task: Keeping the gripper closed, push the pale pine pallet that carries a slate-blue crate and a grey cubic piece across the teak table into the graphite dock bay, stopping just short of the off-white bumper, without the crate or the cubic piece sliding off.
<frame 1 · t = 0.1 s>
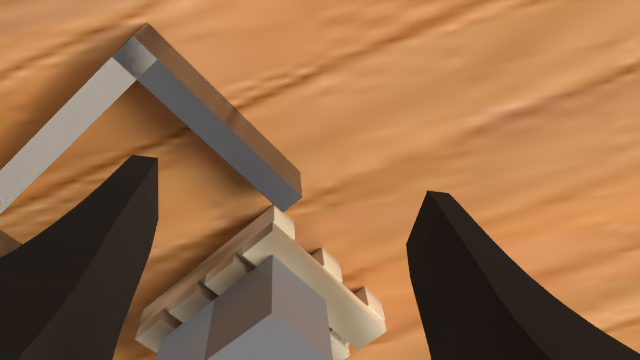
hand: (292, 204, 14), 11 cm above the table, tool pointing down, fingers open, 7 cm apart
blue crate: (215, 340, 27), point 2 cm above the table, touching grey cubic piece, pallet
dock: (126, 196, 25), on the table
pallet: (264, 301, 29), on the table, touching blue crate
grey cubic piece: (270, 299, 26), point 2 cm above the table, touching blue crate
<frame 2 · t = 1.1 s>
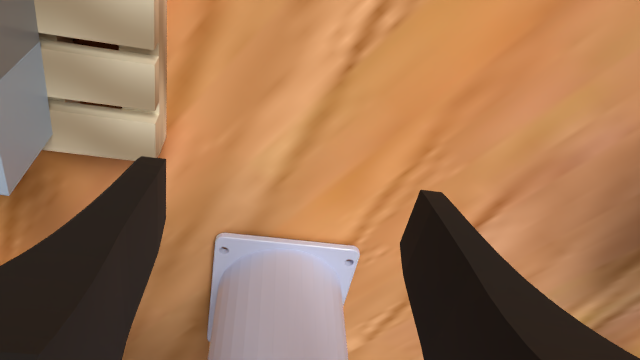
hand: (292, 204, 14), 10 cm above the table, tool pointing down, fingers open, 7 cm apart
pallet: (53, 13, 20), on the table, touching grey cubic piece
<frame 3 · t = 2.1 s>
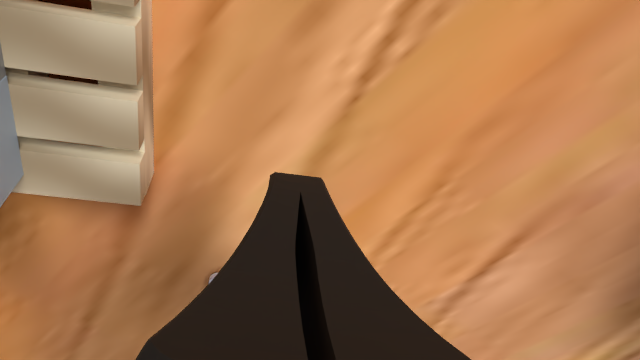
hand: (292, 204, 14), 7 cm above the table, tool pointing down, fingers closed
pallet: (25, 42, 18), on the table, touching blue crate, grey cubic piece
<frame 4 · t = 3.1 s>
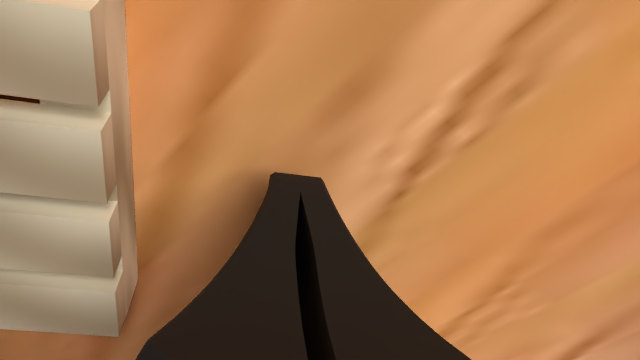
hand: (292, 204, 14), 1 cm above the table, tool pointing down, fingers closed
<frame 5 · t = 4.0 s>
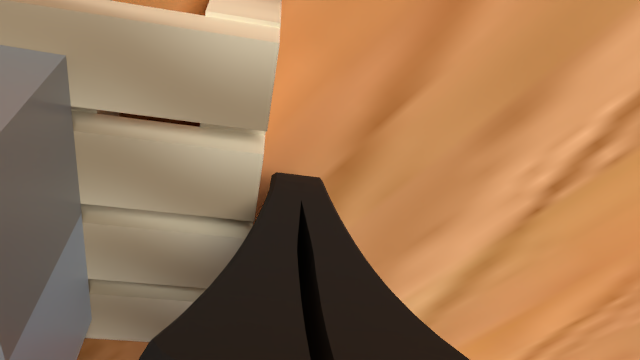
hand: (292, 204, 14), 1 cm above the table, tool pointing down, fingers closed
blue crate: (3, 262, 13), point 2 cm above the table, touching grey cubic piece
pallet: (94, 149, 14), on the table, touching gripper
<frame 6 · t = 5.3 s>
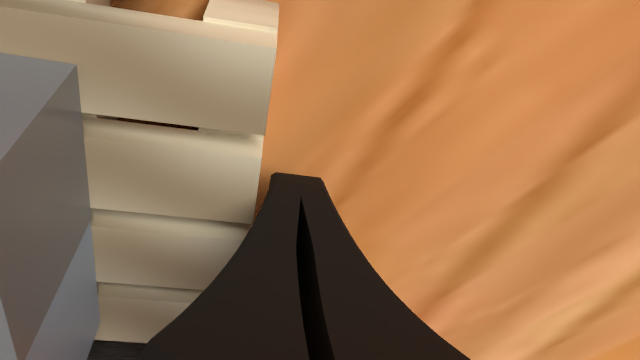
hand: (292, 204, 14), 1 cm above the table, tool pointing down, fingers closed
blue crate: (13, 266, 13), point 2 cm above the table, touching grey cubic piece
pallet: (95, 152, 14), on the table, touching gripper
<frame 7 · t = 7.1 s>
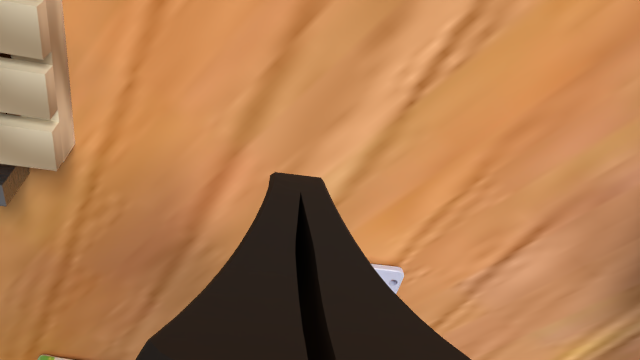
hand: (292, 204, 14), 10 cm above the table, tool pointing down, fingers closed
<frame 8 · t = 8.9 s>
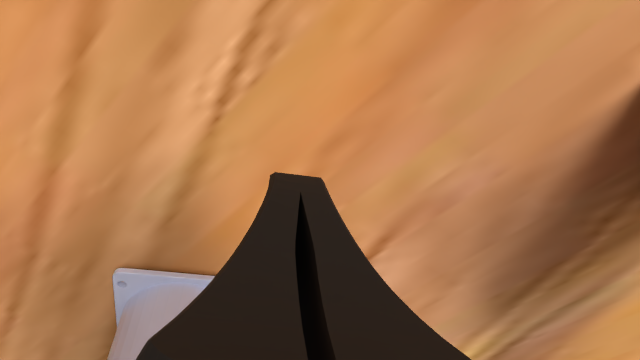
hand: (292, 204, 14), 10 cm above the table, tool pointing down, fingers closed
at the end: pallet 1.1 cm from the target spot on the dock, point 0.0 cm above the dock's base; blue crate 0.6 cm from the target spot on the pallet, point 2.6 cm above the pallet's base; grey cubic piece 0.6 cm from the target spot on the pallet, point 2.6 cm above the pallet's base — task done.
